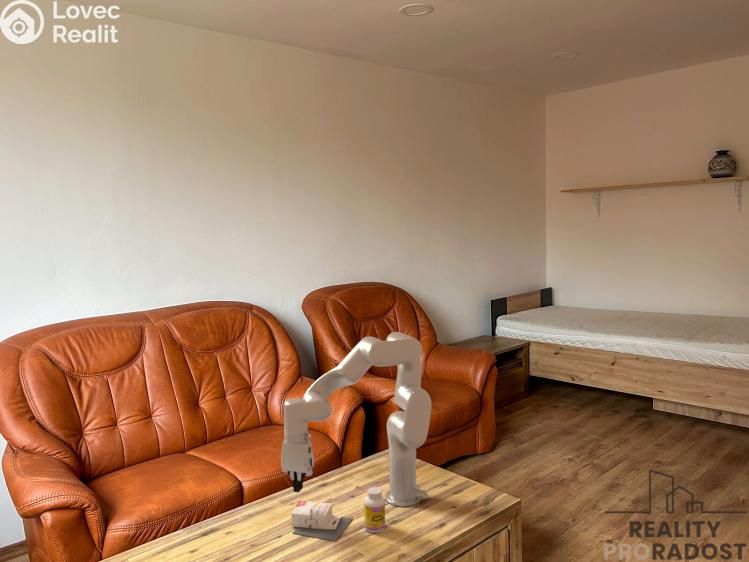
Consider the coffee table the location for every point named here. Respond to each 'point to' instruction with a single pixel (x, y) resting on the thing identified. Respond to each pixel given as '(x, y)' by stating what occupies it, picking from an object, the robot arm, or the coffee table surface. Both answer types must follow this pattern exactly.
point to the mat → (325, 534)
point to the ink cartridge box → (314, 515)
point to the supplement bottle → (374, 510)
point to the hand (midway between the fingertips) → (297, 490)
